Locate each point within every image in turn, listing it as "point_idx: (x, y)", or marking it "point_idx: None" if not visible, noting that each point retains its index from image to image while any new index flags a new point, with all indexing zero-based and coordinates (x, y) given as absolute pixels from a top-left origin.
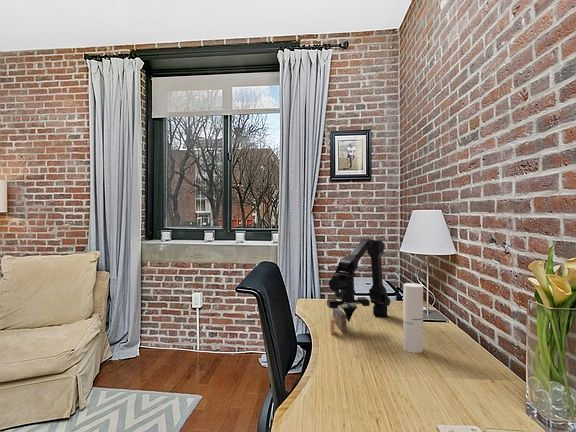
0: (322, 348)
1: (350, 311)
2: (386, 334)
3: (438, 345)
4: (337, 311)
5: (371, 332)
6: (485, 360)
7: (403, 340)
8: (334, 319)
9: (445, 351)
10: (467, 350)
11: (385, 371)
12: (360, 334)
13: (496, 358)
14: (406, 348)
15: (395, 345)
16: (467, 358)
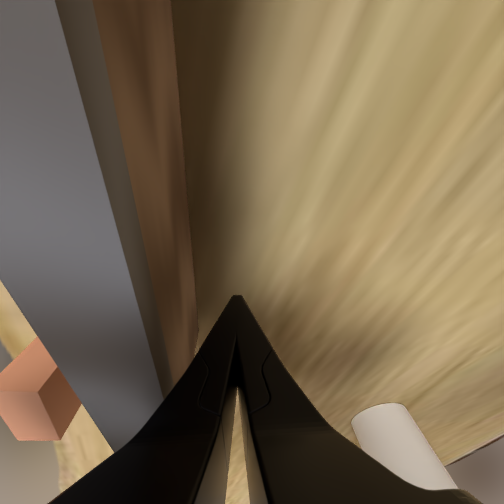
0: (74, 422)
1: (247, 476)
2: (401, 333)
3: (469, 401)
4: (36, 323)
5: (351, 309)
6: (468, 441)
7: (370, 448)
8: (56, 434)
9: (443, 422)
10: (498, 417)
11: (237, 474)
12: (278, 328)
13: (499, 436)
14: (355, 432)
15: (348, 403)
16: (446, 439)
